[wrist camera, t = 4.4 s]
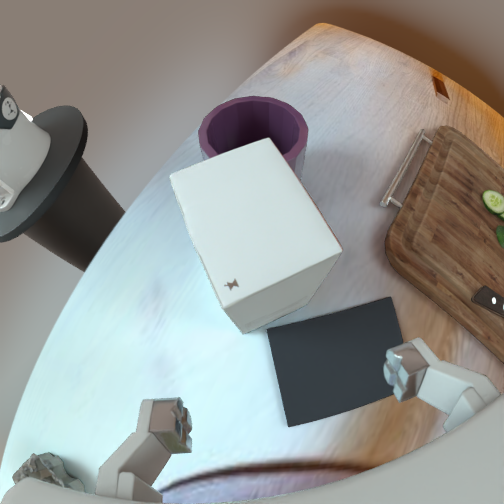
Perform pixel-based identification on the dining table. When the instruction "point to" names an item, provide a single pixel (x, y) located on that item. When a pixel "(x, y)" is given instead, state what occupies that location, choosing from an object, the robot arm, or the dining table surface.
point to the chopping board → (454, 233)
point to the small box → (255, 232)
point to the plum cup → (255, 128)
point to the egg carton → (47, 472)
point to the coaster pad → (334, 360)
